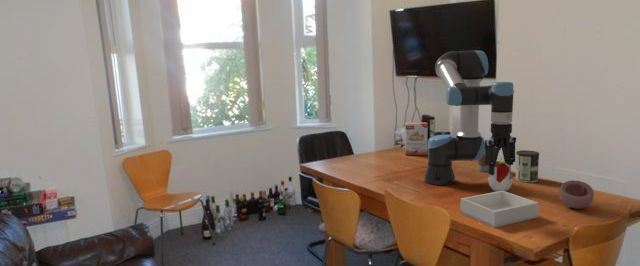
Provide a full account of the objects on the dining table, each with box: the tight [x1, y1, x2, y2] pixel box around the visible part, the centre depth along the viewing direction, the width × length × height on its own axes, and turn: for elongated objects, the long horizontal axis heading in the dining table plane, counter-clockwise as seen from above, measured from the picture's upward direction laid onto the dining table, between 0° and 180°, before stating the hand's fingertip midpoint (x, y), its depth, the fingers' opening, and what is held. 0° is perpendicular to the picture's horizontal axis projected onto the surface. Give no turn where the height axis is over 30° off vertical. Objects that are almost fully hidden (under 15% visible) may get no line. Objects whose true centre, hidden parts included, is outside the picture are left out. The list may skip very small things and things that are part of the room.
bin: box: [459, 191, 540, 228], centre depth 171 cm, size 18×22×6 cm
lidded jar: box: [487, 172, 514, 192], centre depth 202 cm, size 11×11×9 cm
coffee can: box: [515, 149, 540, 183], centre depth 218 cm, size 10×10×14 cm
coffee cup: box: [476, 143, 489, 173], centre depth 238 cm, size 8×8×15 cm
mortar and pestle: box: [558, 179, 595, 210], centre depth 176 cm, size 12×12×12 cm
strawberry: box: [495, 158, 509, 183], centre depth 169 cm, size 6×8×10 cm
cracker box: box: [404, 122, 429, 156], centre depth 283 cm, size 14×6×21 cm, turn 81°
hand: (499, 181), depth 170 cm, fingers closed on strawberry, 6 cm apart
